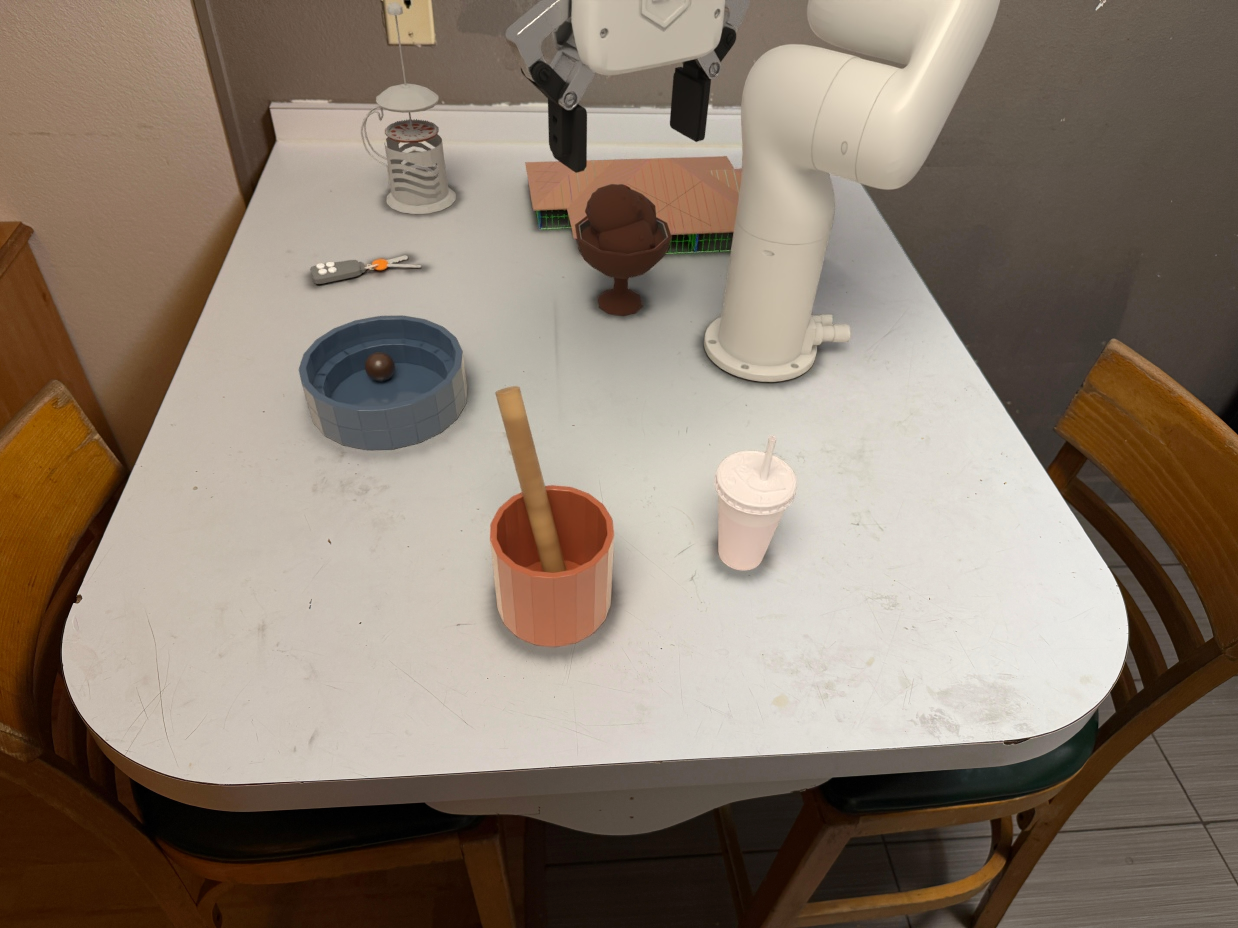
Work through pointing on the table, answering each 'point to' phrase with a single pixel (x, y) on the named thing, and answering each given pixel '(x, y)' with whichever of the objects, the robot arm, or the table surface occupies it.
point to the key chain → (351, 269)
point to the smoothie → (751, 504)
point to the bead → (379, 366)
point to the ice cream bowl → (621, 242)
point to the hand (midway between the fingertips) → (630, 149)
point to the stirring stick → (530, 479)
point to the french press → (416, 185)
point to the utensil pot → (562, 599)
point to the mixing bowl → (384, 382)
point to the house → (647, 191)
